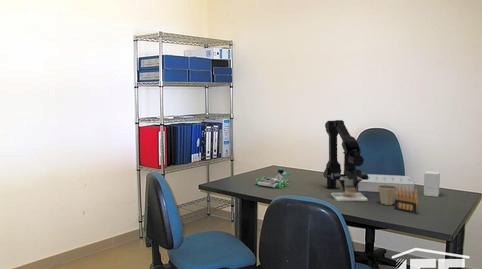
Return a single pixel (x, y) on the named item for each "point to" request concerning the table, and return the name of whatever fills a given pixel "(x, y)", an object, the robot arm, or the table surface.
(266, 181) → the robot kit
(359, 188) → the warehouse
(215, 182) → the table surface
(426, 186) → the supplement box
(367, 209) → the table surface
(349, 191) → the jaw block
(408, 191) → the ammunition clip
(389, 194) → the flower pot
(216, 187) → the table surface
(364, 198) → the jaw base
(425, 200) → the table surface
